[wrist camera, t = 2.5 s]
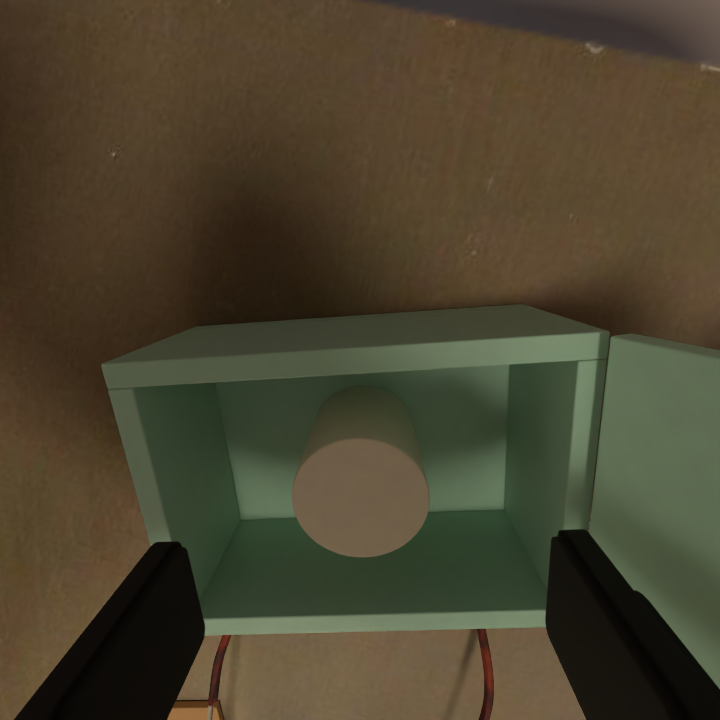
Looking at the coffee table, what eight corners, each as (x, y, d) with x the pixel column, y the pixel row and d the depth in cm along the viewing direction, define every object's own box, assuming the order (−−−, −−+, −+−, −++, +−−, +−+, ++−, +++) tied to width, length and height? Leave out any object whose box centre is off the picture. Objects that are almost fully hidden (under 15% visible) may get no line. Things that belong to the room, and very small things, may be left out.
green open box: (234, 522, 20) (174, 636, 14) (195, 326, 17) (99, 363, 11) (513, 511, 19) (577, 627, 13) (523, 303, 16) (610, 331, 10)
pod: (319, 477, 18) (299, 560, 13) (308, 387, 16) (282, 442, 12) (415, 473, 17) (431, 555, 13) (411, 381, 16) (428, 434, 11)
